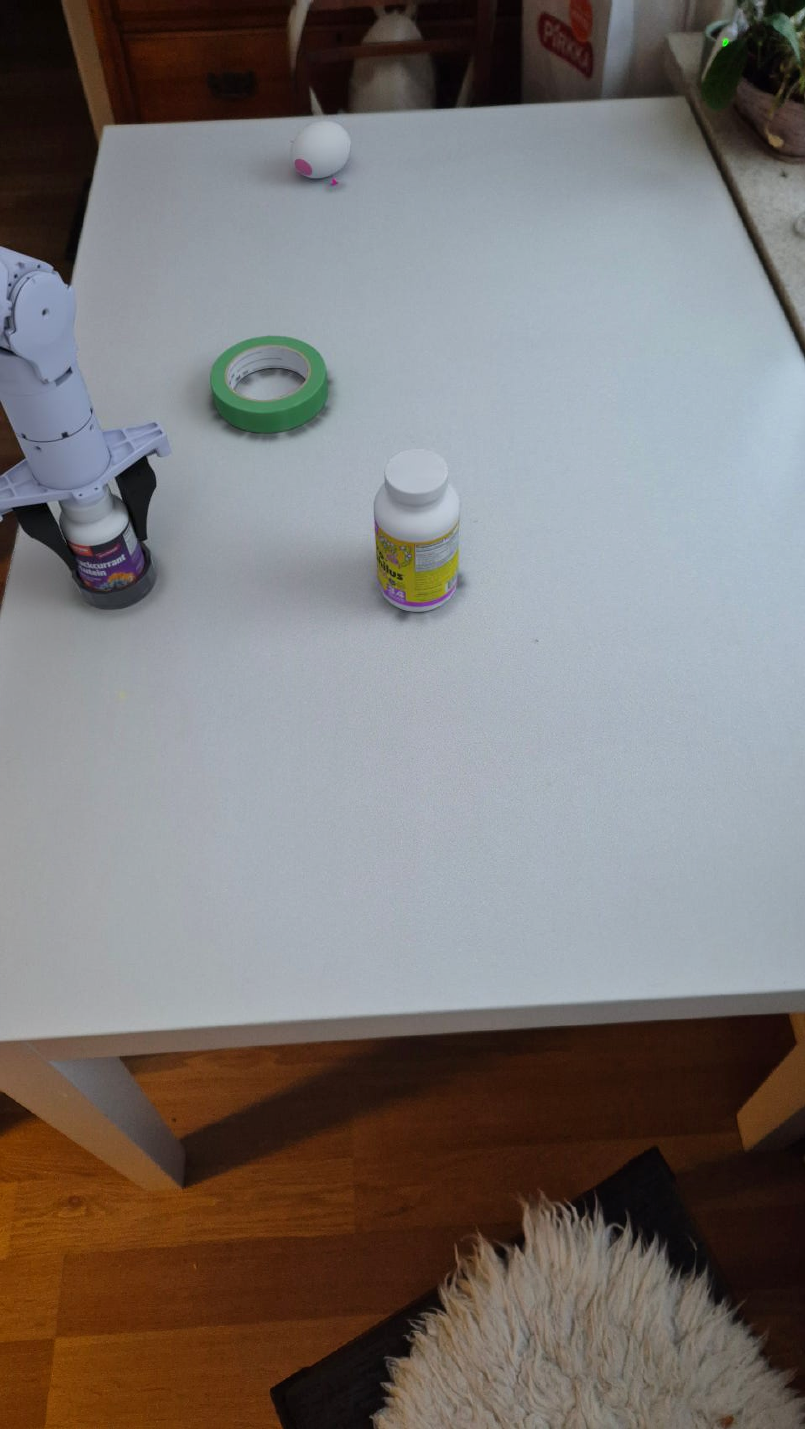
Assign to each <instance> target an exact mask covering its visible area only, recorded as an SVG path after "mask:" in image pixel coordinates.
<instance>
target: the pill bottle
mask: <svg viewBox="0 0 805 1429" xmlns="http://www.w3.org/2000/svg"><path fill="white" fill-rule="evenodd" d="M102 488H103V491H104V495H103V497H101V498H100V499H97V500H95V501H92V502H90V503H87V504H84V505H80V504H78V503H77V502H76V501H75V499H73V498H72V499H65V500H59V501H57V502H58V505H59V508H60V512H59V516H58V525H59V528H60V530H61V533H62V535H63V538H64V540H65V542H66V544H67V546H68V548H69V549H70V551H71V553H72V555H73V556H74V558H75V560H76V562H77V564H78V567H79V568H78V571H79V574H80V576H81V578H82V581H83V582H84V584H85V586H87V587H89V588H91V589H93V590H102V591H109V590H115V589H120V588H122V587H124V586H126V585H128V584H130V583H132V582H134V581H135V580H136V579H137V578H138V577H139V576H140V575H141V574H142V573H143V570H144V568H145V565H146V563H145V559H144V556H143V553H142V550H141V547H140V544H139V541H138V538H137V536H136V533H135V530H134V527H133V524H132V521H131V518H130V515H129V512H128V510H127V507H126V505H125V504H124V502H123V501H122V498H120V497H119V496H118V495H116V494H115V493H113V492H112V490H111V488H110V485H109V482H108V483H106V484H105V485H104V486H102Z"/></svg>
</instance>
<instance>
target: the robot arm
mask: <svg viewBox="0 0 805 1429" xmlns="http://www.w3.org/2000/svg"><path fill="white" fill-rule="evenodd" d="M76 315H77V298H76V291H75V288H74V285H69V284H67V283H65V282H64V281H63V279H62V277H61V275H60V273H59V271H56V270H54V267H53V266H52V265H51V264H49V263H47V262H45V261H43V260H40V259H37V258H35V257H32V256H29V255H27V254H23V253H20V252H19V251H15V250H12V249H10V248H6V247H3V246H0V403H1V405H2V407H3V410H4V412H5V414H6V416H7V418H8V421H9V423H10V425H11V428H12V430H13V432H14V434H15V437H16V439H17V441H18V444H19V447H20V448H21V450H22V453H23V456H24V457H25V458H24V459H23V460H21V461H19V462H18V463H17V464H16V465H14V466H12V467H11V468H10V469H8V470H7V471H5V472H3V474H1V475H0V523H1V522H2V521H3V520H4V518H3V516H2V515H5V514H8V513H10V512H13V514H14V515H15V518H16V520H17V522H18V524H19V526H20V527H21V529H22V531H23V532H24V533H25V534H26V535H27V536H29V537H30V538H31V539H33V540H35V541H38V542H40V543H41V544H43V545H45V546H46V547H47V548H49V549H50V550H51V551H53V552H54V553H55V554H56V555H57V556H58V557H59V558H60V559H61V560H62V562H64V563H65V565H66V566H67V567H68V569H69V571H70V572H71V571H73V570H76V569H78V568H79V567H78V564H77V562H76V560H75V558H74V556H73V555H72V553H71V551H70V549H69V548H68V546H67V543H66V541H65V539H64V537H63V534H62V532H61V529H60V526H59V522H58V521H57V520H56V518H55V516H54V514H53V512H52V510H51V508H50V506H49V504H48V503H50V502H58V501H59V500H65V499H72V498H73V499H75V501H76V502H77V503H78V504H80V505H84V504H87V503H90V502H92V501H95V500H97V499H100V498H101V497H103V495H104V491H103V488H102V486H104V485H105V484H106V483H108V484H109V482H110V481H111V480H113V479H114V480H115V483H116V486H117V489H118V491H119V494H120V497H121V500H122V501H123V502H124V504H125V505H126V507H127V510H128V512H129V515H130V518H131V521H132V524H133V527H134V530H135V533H136V536H137V538H138V540H139V541H140V542H142V541H143V542H144V541H147V540H148V525H147V524H148V514H149V507H150V503H151V499H152V497H153V495H154V492H155V490H156V488H157V485H158V483H157V476H156V473H155V471H154V469H153V468H152V466H151V465H150V462H149V459H148V457H151V456H154V455H156V456H157V457H158V458H165V457H167V456H170V455H172V454H173V452H172V448H171V444H170V441H169V438H168V435H167V432H166V431H165V429H164V428H163V426H162V425H161V424H160V422H159V420H157V419H155V420H152V421H149V422H146V423H142V424H138V425H132V426H126V427H125V426H124V427H118V428H109V429H103V430H102V429H101V426H100V422H99V419H98V417H97V413H96V411H95V408H94V405H93V401H92V399H91V396H90V393H89V390H88V387H87V385H86V382H85V379H84V377H83V373H82V371H81V368H80V365H79V362H78V354H77V352H78V351H79V346H78V344H77V341H76V337H75V330H74V329H75V322H76V317H77V316H76Z"/></svg>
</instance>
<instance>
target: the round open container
mask: <svg viewBox="0 0 805 1429" xmlns="http://www.w3.org/2000/svg"><path fill="white" fill-rule="evenodd" d="M138 541H139V540H138ZM139 544H140V547H141V550H142V553H143V556H144V559H145V563H146V565H145V568H144V570H143V573H142V574H141V575H140V576H139V577H138V578H137V579H136V580H135V581H134V582H132V583H130V584H128V585H126V586H124V587H122V588H120V589H115V590H109V591H102V590H93V589H91V588H89V587H87V586H85V584H84V582H83V581H82V578H81V576H80V574H79V571H78V569H76V570H73V571H70V575H71V579H72V581H73V583H74V585H75V588H76V590H77V591H78V593H79V595H80V596H81V598H82V599H83V600H84V602H86V603H87V604H89V605H91V606H92V607H94V608H99V609H102V610H119V609H124V608H127V607H130V606H133V605H135V604H136V603H139V602H140V601H142V599H144V598H145V597H147V595H148V594H149V593H150V592H151V591H152V589H153V587H154V585H155V583H156V579H157V570H156V566H155V561H154V558H153V555H152V552H151V550H150V548H149V547H148V546H147V545H146V543H145V542H144V541H142V542H140V541H139Z"/></svg>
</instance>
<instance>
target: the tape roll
mask: <svg viewBox="0 0 805 1429" xmlns="http://www.w3.org/2000/svg"><path fill="white" fill-rule="evenodd" d="M275 368H276V369H285V370H290V371H293V372H295V373H297V374H299V375H300V376H302V378H304V379H305V380H304V381H303V383H302V384H301V385H300V386H299V387H298V388H296V390H294V391H292V392H291V393H288V394H285V395H282V396H279V397H278V398H273V399H272V398H271V399H257V398H256V399H255V398H250V397H247V396H245V395H242V394H241V393H239V392H237V390H235V387H236V385H237V384H238V383H239V382H240V381H241V380H242V379H243V378H245V377H246V376H248V375H250V374H252V373H254V372H257V371H260V370H265V369H275ZM327 375H328V374H327V366H326V362H325V360H324V358H323V356H322V355H321V353H320V352H319V351H318V350H317V349H316V348H315V347H314V346H312V345H311V344H309V343H308V342H305V341H303V340H300V339H299V338H295V337H290V336H286V335H285V336H284V335H262V336H255V337H251V338H248V339H245V340H242V341H240V342H238V343H235V344H234V345H231V346H230V347H229V348H227V349H226V350H225V351H224V352H222V353H221V354H220V355H219V357H217V359H216V360H215V361H214V364H213V365H212V368H211V370H210V375H209V383H210V389H211V393H212V396H213V401H214V405H215V408H216V411H217V412H218V414H219V415H220V416H221V418H222V419H223V420H224V421H225V422H227V423H228V424H229V425H230V426H231V425H232V426H233V427H235V428H238V429H239V430H243V431H246V432H251V433H257V434H275V433H283V432H286V431H290V430H293V429H296V428H297V427H300V426H303V425H304V424H306V423H308V422H310V421H311V420H312V419H313V418H315V417H316V416H317V415H318V414H319V413H320V412H321V410H322V409H323V408H324V406H325V404H326V402H327V400H328V396H329V385H328V376H327Z"/></svg>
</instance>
